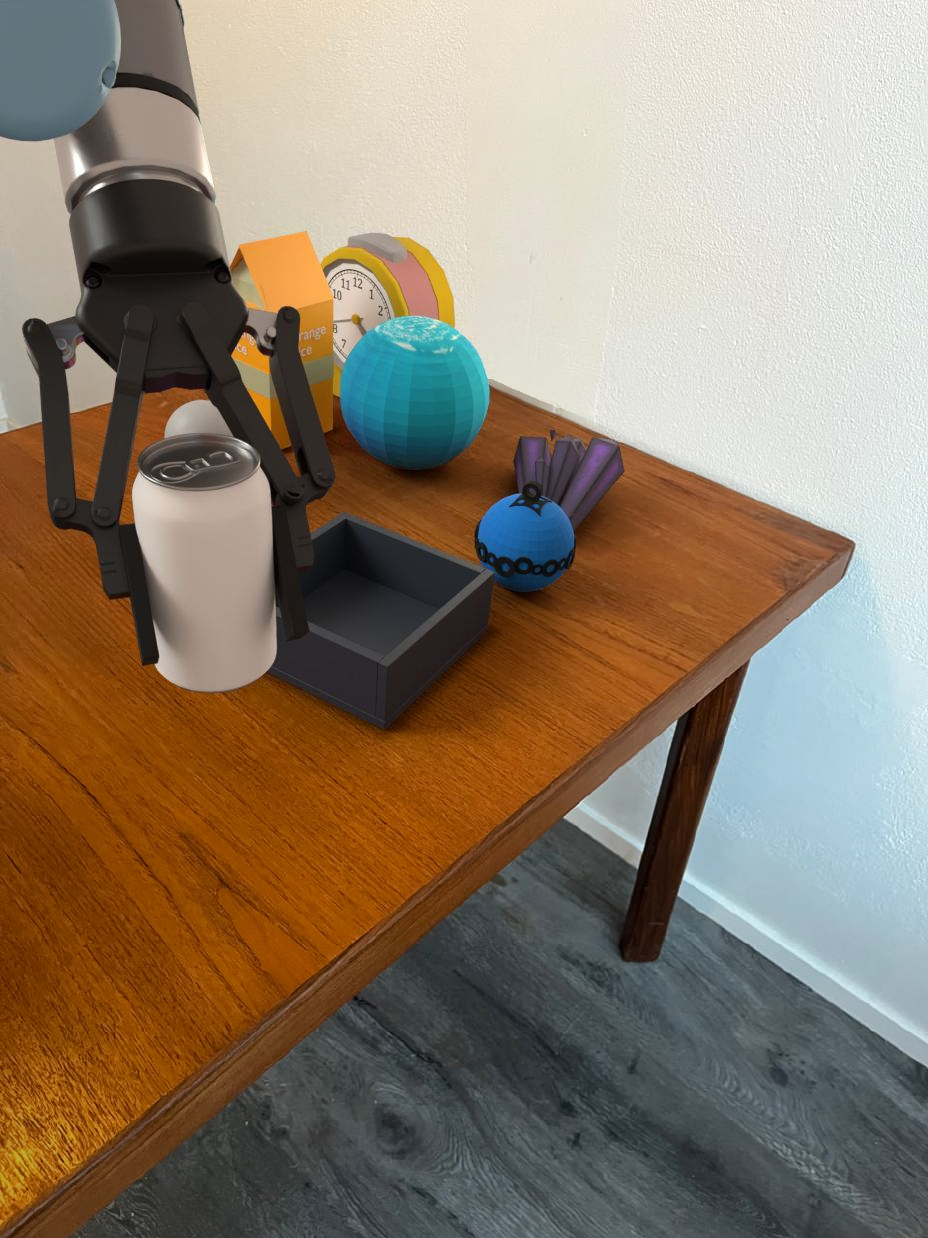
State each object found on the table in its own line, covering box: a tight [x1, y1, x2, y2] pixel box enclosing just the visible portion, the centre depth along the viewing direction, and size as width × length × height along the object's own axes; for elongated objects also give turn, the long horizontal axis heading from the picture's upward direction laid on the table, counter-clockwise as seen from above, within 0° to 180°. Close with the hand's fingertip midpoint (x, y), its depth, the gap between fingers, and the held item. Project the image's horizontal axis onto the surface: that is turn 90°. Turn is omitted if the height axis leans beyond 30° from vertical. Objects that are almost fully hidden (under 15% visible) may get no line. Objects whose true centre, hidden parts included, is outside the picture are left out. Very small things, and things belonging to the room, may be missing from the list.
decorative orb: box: [339, 316, 490, 471], centre depth 97 cm, size 15×15×15 cm
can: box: [131, 433, 277, 695], centre depth 49 cm, size 6×6×12 cm
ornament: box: [473, 481, 578, 593], centre depth 82 cm, size 9×9×10 cm
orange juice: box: [229, 230, 334, 451], centre depth 99 cm, size 8×9×20 cm
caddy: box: [265, 511, 495, 731], centre depth 75 cm, size 15×15×6 cm
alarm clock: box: [320, 232, 456, 398], centre depth 109 cm, size 15×8×18 cm, turn 50°
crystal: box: [512, 429, 625, 532], centre depth 96 cm, size 7×12×20 cm
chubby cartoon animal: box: [163, 399, 233, 439], centre depth 90 cm, size 7×12×8 cm, turn 176°
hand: (225, 647), depth 48 cm, fingers closed on can, 6 cm apart
